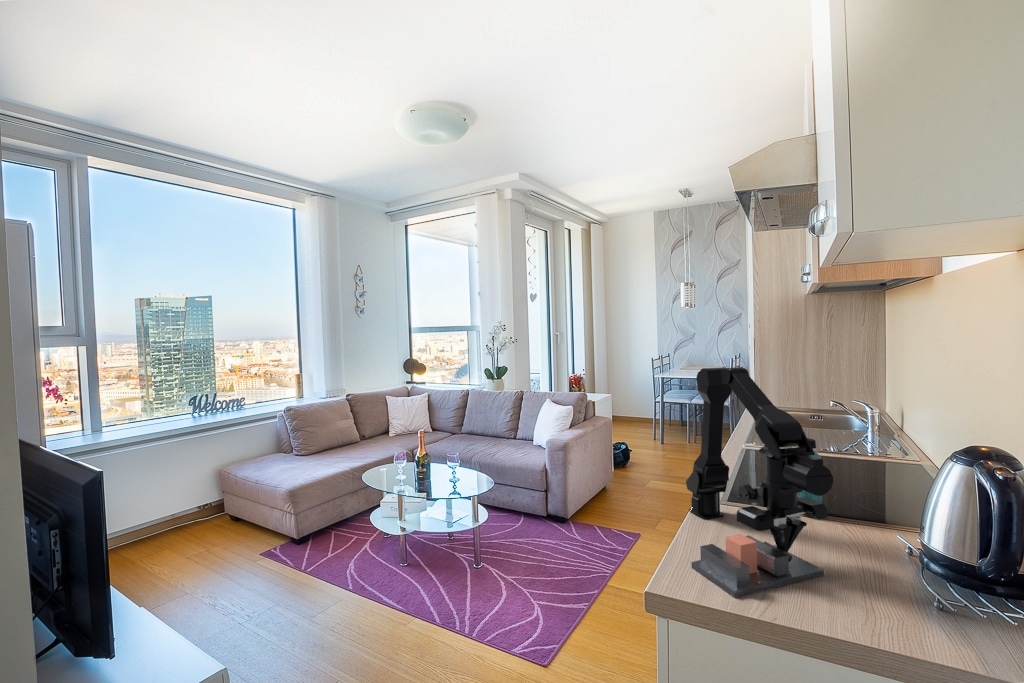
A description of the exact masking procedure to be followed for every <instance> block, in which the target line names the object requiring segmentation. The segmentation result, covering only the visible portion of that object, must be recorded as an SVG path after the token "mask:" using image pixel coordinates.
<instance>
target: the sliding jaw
mask: <svg viewBox="0 0 1024 683" xmlns="http://www.w3.org/2000/svg"><path fill="white" fill-rule="evenodd" d="M745 536H746V537H748V538H750V539H752V540H754V541H755V542H757V565H758V566H760V567H762V568H763V569H765V570H767V571H769V572H770V573H772V574H774V575H776V576H780V575H784V574H788V573H789V562H790V561H791V560H792V555H791V554H792V553H791V554H789V553H790V552H789V553H787V552H785V551H783V550H781V549H779V548H777V547H775V546H773V545H774V544H771V543H769V542H767V541H762V540H759V539H757V538H756V537H753V536H752V535H745Z"/></svg>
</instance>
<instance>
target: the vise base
mask: <svg viewBox="0 0 1024 683" xmlns="http://www.w3.org/2000/svg"><path fill="white" fill-rule="evenodd" d="M772 545H773V546H775V547H777V546H776V544H772ZM787 553H789V554H791V555H792V560H791V561H790V562H789V573H788V574H784V575H780V576H776V575H774V574H772V573H770V572H769V571H767V570H765V569H763V568H762V567H760V566H758V565H757V572H755V573H751V574H749V565H747V564H746V563H744V562H742V561H740V560H739V559H737V558H735V557H734V556H732V555H730V554H729V553H727V552H726V550H723V549H722V548H721V547H718V546H717V545H716V544H713V543H710V544H705V545H704V544H703V545H700V560H695V561H691V562H690V563H691V568H692V569H693V570H694V571H695V572H697V573H699V574H700V575H702V576H703V577H705V579H707V580H709V582H711V583H713V584H714V585H716V586H717V587H719V589H721V590H723V591H724V592H726V593H727V594H729V595H730V596H731V595H732V596H731V597H732V598H734V599H735V597H736V598H739V596H740V597H743V596H748V595H752V594H755V593H761V592H763V591H768V590H773V589H777V588H781V587H783V586H788V585H792V584H796V583H797V584H798V583H802V582H805V581H809V580H813V579H818V578H822V577H824V576H825V570H824V569H823V568H821V567H819V566H817V565H815V564H813V563H811V562H809V561H807V560H805V559H803V558H801V557H800V556H797V555H796V554H794V553H791V552H789V551H788V552H787Z"/></svg>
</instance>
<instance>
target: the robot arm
mask: <svg viewBox="0 0 1024 683" xmlns="http://www.w3.org/2000/svg"><path fill="white" fill-rule="evenodd" d="M696 385H697V391H698V394H699V395H700V397H701V398H702V401H703V402H702V403H703V404H702V407H703V408H702V427H701V444H700V447H701V448H700V454H699V456H698V457H697V458H696V459H695V461H694V462H693V468H692V472H691V473H690V475H689V476H688V478H687V479H686V481H685V484H686V485H685V486H686V490H688V491H689V492H691V493H692V495H691V508H692V507H693V508H692V510H691V508H689V509H688V511H689V512H690V510H691V512H690V513H692V514H694V515H696V516H698V517H700V518H702V519H704V520H708V519H709V520H710V519H713V518H719V517H724V516H725V513H724V512H721V500H720V499H721V497H720V496H721V495H720V494H721V493H726V490H727V486H728V482H730V478H729V474H730V466H729V465H727V464H726V463H725V460H724V459H723V457H722V450H723V449H722V448H723V433H724V432H723V431H724V430H723V429H724V418H725V417H724V415H725V404H726V402H727V400H728V399H729V397H730V396H731V394H732V392H733V393H734V395H736V397H737V399H738V400H739V401H740V403H741V404H742V405H743V406H744V408H745V409H746V410H747V411H748V412H749V414H750V416H751V417H752V418H753V421H754V422H755V423H754V430H755V432H756V434H757V435H758V438H759V439H760V442H761V443H762V444H763V445H764V446H762V447H760V448H759V449H758V452H759V453H761V454H762V455H765V481H764V480H763V481H761V482H760V485H759V486H753V487H752V486H751V484H742V485H739V486H738V496H739V499H740V500H741V501H743V502H744V501H746V505H750V504H752V503H753V504H754V503H755V504H756V503H758V506H760V507H762V508H766V510H763V509H761V508H759V507H756V506H754V505H751V506H746V507H740V508H739V509H738V510H737V511H736V522H737V523H740V524H741V525H744V526H746V527H748V528H750V529H752V530H754V531H757V532H764V531H770V533H771V536H772V538H773V540H774V542H775V545H776V546H777V548H779V549H781V550H783V551H785V552H789V550H790V549H791V547H792V546H793V544H794V542H795V540H796V539H797V537H798V536H799V534H801V532H802V531H803V529H804V528H805V527H807V525H808V523H807V522H806V521H803V520H802V517H801V515H804V514H809V513H810V512H812V513H810V514H812V516H813V517H814V518H815V520H819V521H820V520H823V519H827V518H828V508H827V507H826V505H825V503H824V502H822V503H821V502H818V501H815V500H813V499H810V498H807V497H800V498H798V493H799V492H803V490H804V491H807V492H809V493H811V494H813V495H817V496H822V497H823V496H825V495H826V494H828V493H829V491H830V490H831V489H832V487H833V484H834V476H833V475H832V472H831V471H830V469H829V468H828V467H827V466H824V459H823V458H822V457H821V458H817V457H811V456H812V455H815V453H814V452H815V451H814V449H812V445H811V444H810V442H809V441H808V439H807V438H808V437H807V436H806V435H807V434H806V433H805V431H804V429H803V427H802V425H801V423H800V422H799V421H798V420H797V419H796V418H795V417H794V416H792V415H791V414H790V413H789V412H787V411H785V410H782V409H780V408H779V407H776V406H775V405H774V404H773V403H772V401H771V400H770V399H769V398H768V396H767V395H766V394H765V393H764V392H763V390H762V389H761V388H760V387H759V386H758V385H757V384H756V382H755V381H754V379H753V378H751V376H750V373H749V371H748V369H747V368H744V367H741V366H737V367H725V366H724V367H705V368H704V367H703V368H701V369H700V370H699V371H698V372H697V375H696ZM798 446H799V447H798Z"/></svg>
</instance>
